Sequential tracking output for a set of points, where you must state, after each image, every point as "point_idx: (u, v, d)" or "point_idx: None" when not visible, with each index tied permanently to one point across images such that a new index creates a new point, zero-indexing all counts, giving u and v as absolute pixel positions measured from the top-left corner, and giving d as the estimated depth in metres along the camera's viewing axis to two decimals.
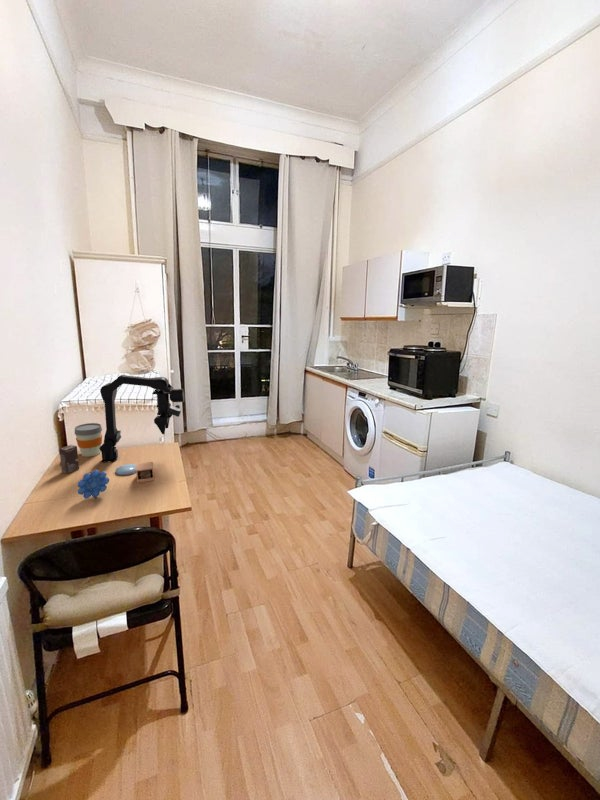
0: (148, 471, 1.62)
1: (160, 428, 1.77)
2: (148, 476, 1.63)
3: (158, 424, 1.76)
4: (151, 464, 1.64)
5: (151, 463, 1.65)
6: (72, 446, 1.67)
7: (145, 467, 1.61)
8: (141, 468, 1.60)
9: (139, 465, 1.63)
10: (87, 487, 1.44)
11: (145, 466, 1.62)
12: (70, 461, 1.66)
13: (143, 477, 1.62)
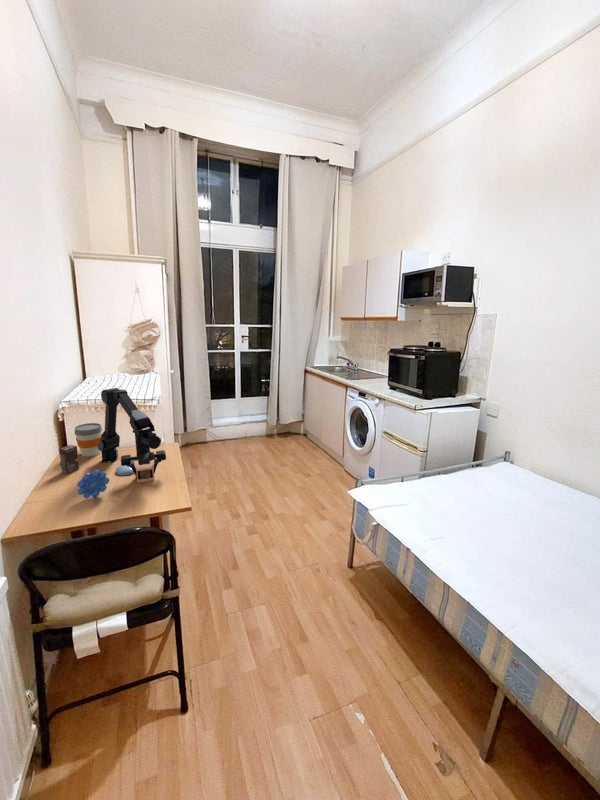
0: (148, 471, 1.62)
1: None
2: (148, 476, 1.63)
3: None
4: (151, 464, 1.64)
5: (151, 463, 1.65)
6: (72, 446, 1.67)
7: (145, 467, 1.61)
8: (141, 468, 1.60)
9: (139, 465, 1.63)
10: (87, 487, 1.44)
11: (145, 466, 1.62)
12: (70, 461, 1.66)
13: (143, 477, 1.62)
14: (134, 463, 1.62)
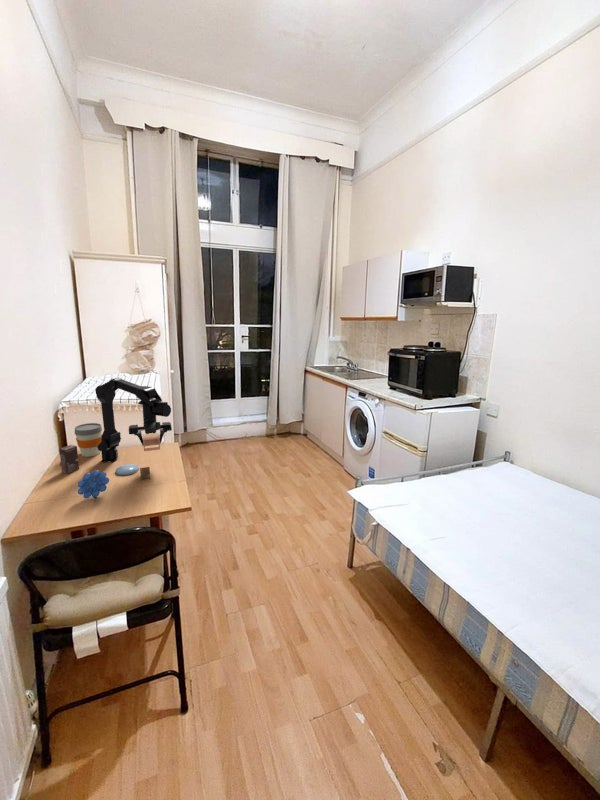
0: (148, 471, 1.62)
1: None
2: (148, 476, 1.63)
3: None
4: (157, 434, 1.72)
5: (157, 434, 1.73)
6: (72, 446, 1.67)
7: (151, 437, 1.69)
8: (148, 438, 1.68)
9: (146, 435, 1.71)
10: (87, 487, 1.44)
11: (151, 436, 1.70)
12: (70, 461, 1.66)
13: (143, 477, 1.62)
14: (141, 433, 1.70)
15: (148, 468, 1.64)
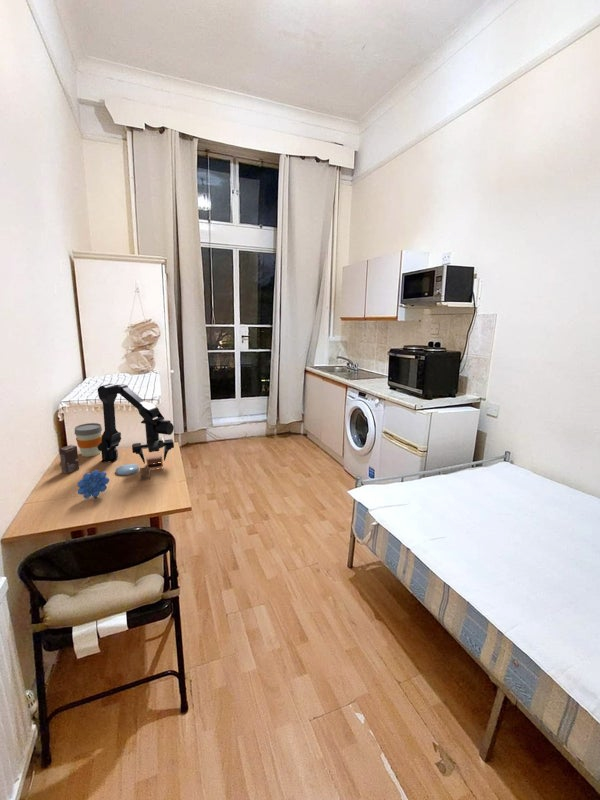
0: (148, 471, 1.62)
1: None
2: (148, 476, 1.63)
3: None
4: (160, 454, 1.76)
5: (160, 453, 1.77)
6: (72, 446, 1.67)
7: (154, 456, 1.73)
8: (151, 457, 1.72)
9: (149, 454, 1.75)
10: (87, 487, 1.44)
11: (154, 455, 1.74)
12: (70, 461, 1.66)
13: (143, 477, 1.62)
14: (142, 451, 1.74)
15: (148, 468, 1.64)
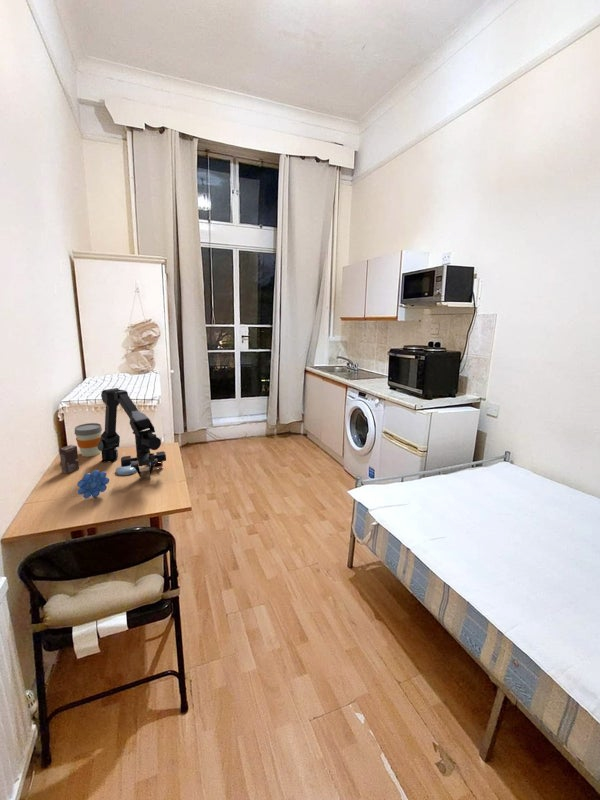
0: (148, 471, 1.62)
1: None
2: (148, 476, 1.63)
3: None
4: None
5: None
6: (72, 446, 1.67)
7: None
8: None
9: None
10: (87, 487, 1.44)
11: None
12: (70, 461, 1.66)
13: (143, 477, 1.62)
14: None
15: (148, 468, 1.64)
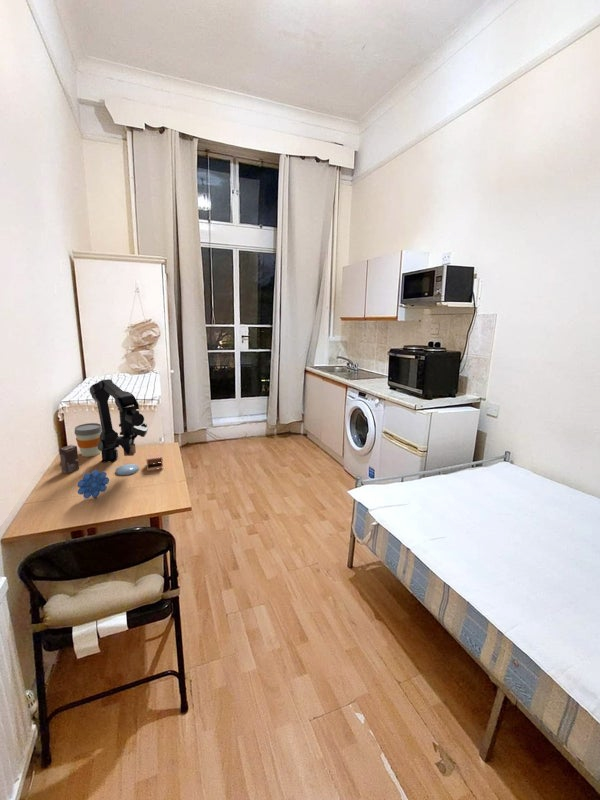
0: (134, 444, 1.67)
1: (124, 448, 1.62)
2: (135, 449, 1.68)
3: None
4: (160, 454, 1.76)
5: (160, 453, 1.77)
6: (72, 446, 1.67)
7: (154, 456, 1.73)
8: (151, 457, 1.72)
9: (149, 454, 1.75)
10: (87, 487, 1.44)
11: (154, 455, 1.74)
12: (70, 461, 1.66)
13: (133, 452, 1.66)
14: None
15: None
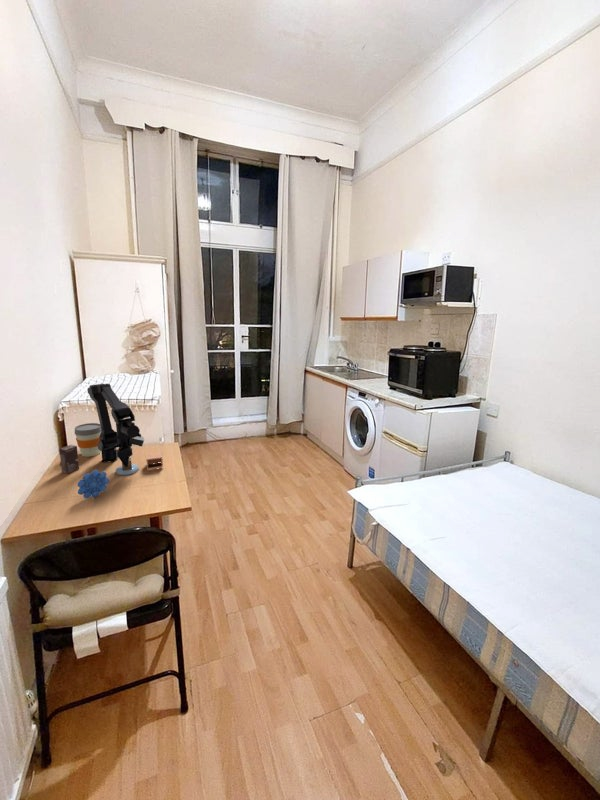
0: (130, 459, 1.71)
1: (123, 461, 1.63)
2: None
3: (121, 457, 1.62)
4: (160, 454, 1.76)
5: (160, 453, 1.77)
6: (72, 446, 1.67)
7: (154, 456, 1.73)
8: (151, 457, 1.72)
9: (149, 454, 1.75)
10: (87, 487, 1.44)
11: (154, 455, 1.74)
12: (70, 461, 1.66)
13: (131, 465, 1.70)
14: (120, 456, 1.63)
15: None
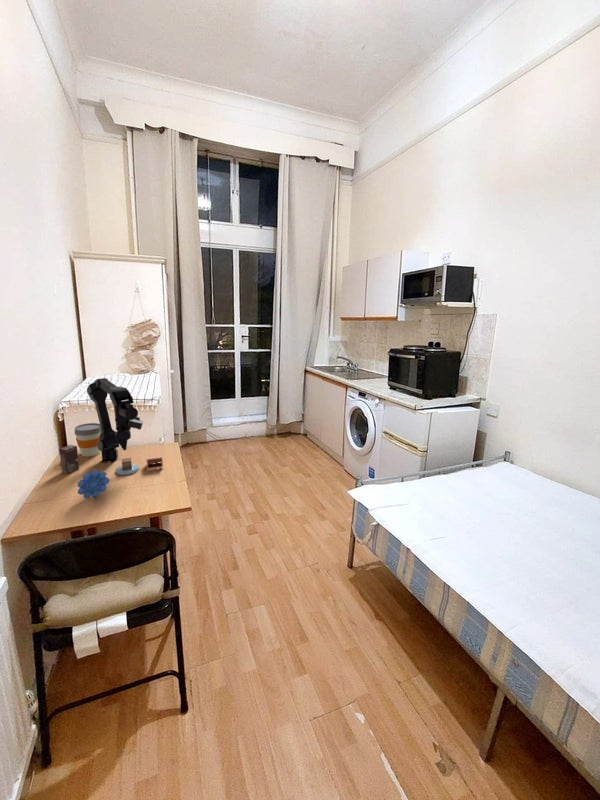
0: (130, 459, 1.72)
1: (121, 444, 1.61)
2: None
3: (119, 440, 1.60)
4: (160, 454, 1.76)
5: (160, 453, 1.77)
6: (72, 446, 1.67)
7: (154, 456, 1.73)
8: (151, 457, 1.72)
9: (149, 454, 1.75)
10: (87, 487, 1.44)
11: (154, 455, 1.74)
12: (70, 461, 1.66)
13: (131, 465, 1.70)
14: None
15: (125, 458, 1.71)
